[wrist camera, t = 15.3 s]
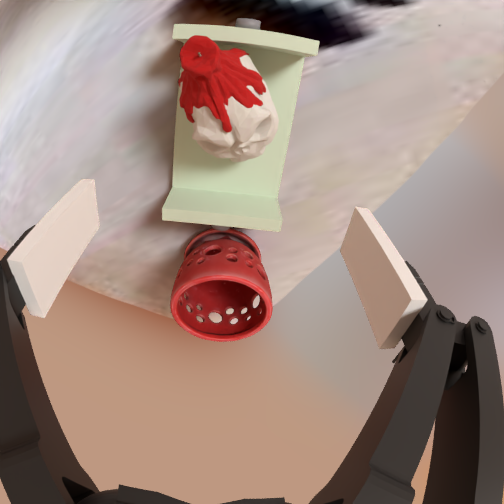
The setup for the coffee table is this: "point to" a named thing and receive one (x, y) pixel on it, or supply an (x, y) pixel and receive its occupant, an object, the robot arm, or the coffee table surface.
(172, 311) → the plant pot
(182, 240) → the coffee table surface
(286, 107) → the holder
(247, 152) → the candle
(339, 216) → the coffee table surface
